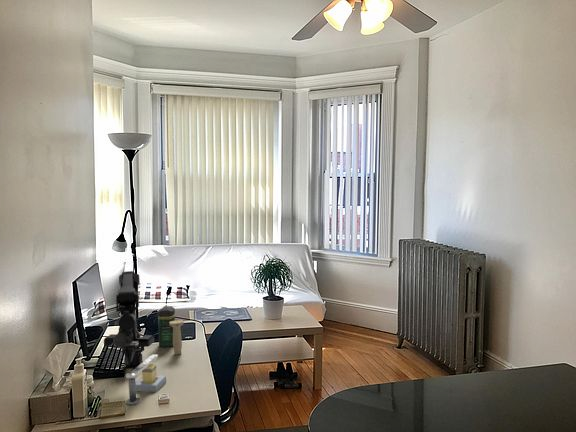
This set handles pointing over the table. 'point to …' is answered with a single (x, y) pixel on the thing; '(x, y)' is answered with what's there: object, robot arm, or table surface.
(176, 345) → the handle
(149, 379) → the plug
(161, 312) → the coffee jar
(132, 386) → the post
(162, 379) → the socket
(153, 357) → the silver metal plank
